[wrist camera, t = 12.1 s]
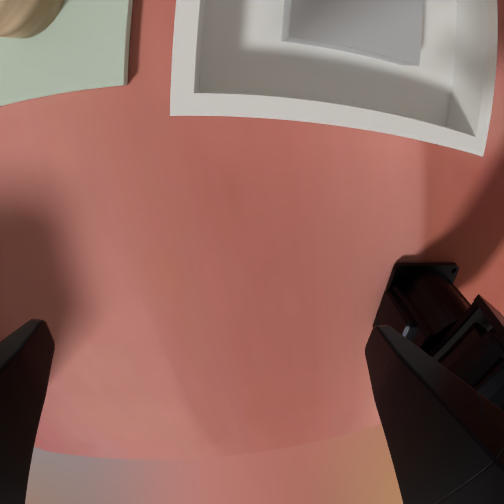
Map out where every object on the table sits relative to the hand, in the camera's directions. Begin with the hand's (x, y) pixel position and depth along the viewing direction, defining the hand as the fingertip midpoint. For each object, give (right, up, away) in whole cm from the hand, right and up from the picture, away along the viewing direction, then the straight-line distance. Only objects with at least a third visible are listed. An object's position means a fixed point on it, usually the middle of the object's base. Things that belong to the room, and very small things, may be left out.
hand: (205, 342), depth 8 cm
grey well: (+6, +16, +5) cm, 18 cm away
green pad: (-11, +17, +3) cm, 20 cm away
